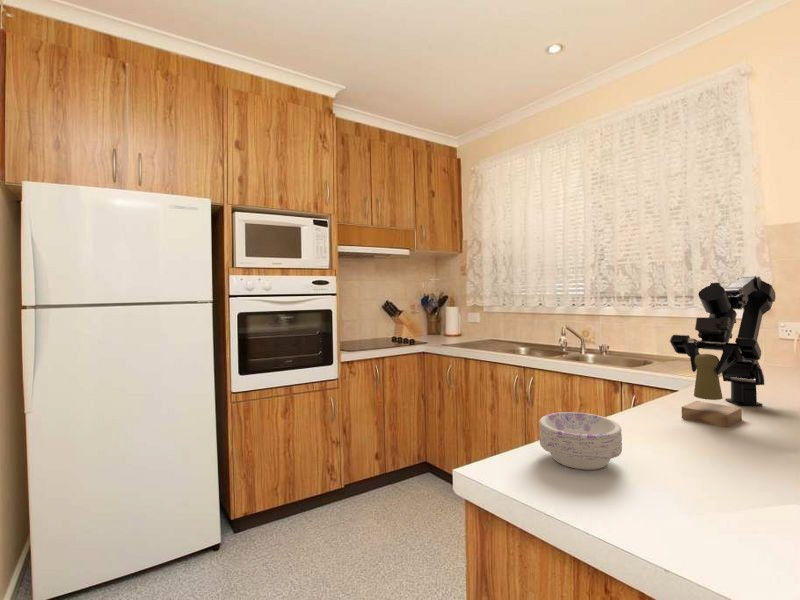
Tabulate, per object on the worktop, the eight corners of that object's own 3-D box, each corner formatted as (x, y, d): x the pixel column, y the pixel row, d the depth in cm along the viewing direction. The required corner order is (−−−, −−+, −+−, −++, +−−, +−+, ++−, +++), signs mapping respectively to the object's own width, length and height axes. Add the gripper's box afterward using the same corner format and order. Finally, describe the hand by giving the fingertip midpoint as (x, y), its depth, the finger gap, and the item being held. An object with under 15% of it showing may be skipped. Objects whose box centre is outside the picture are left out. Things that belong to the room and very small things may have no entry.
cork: (712, 393, 111) (711, 352, 110) (728, 399, 105) (727, 355, 104) (688, 394, 111) (687, 353, 111) (702, 400, 105) (701, 356, 105)
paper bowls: (565, 480, 75) (564, 436, 75) (527, 450, 90) (526, 414, 90) (641, 473, 78) (640, 430, 78) (591, 445, 93) (590, 409, 93)
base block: (681, 418, 110) (681, 406, 110) (697, 411, 116) (696, 400, 116) (727, 427, 102) (727, 415, 102) (741, 419, 108) (741, 408, 108)
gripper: (671, 305, 117) (654, 349, 111) (756, 306, 102) (742, 356, 96) (684, 331, 122) (669, 374, 116) (766, 334, 107) (754, 384, 101)
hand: (705, 372), depth 107 cm, fingers closed on cork, 5 cm apart
